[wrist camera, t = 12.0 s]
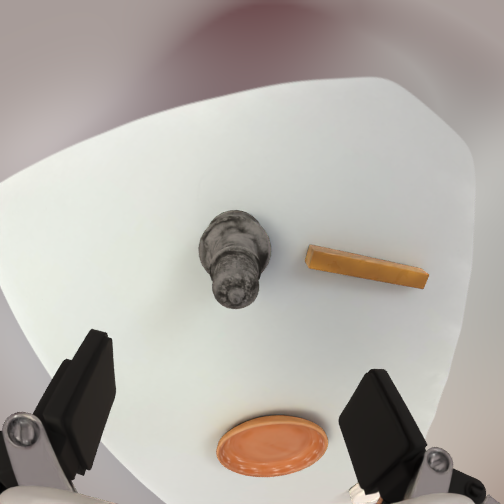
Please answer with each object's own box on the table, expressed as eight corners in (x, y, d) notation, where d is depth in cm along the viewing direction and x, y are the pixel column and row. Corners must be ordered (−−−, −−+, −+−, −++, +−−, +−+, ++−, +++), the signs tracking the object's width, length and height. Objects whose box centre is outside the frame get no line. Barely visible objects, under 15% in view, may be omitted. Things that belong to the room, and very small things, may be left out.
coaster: (385, 469, 47) (389, 481, 43) (393, 479, 50) (397, 490, 47) (342, 488, 48) (346, 500, 45) (355, 496, 51) (358, 507, 48)
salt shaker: (197, 212, 27) (172, 261, 16) (262, 202, 27) (283, 244, 16) (208, 272, 29) (196, 350, 18) (270, 263, 29) (292, 337, 18)
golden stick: (309, 243, 29) (314, 250, 27) (421, 268, 30) (429, 274, 29) (304, 261, 29) (308, 268, 28) (415, 282, 31) (423, 289, 29)
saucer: (200, 452, 39) (200, 467, 36) (247, 394, 35) (248, 411, 32) (288, 469, 42) (290, 482, 40) (345, 417, 38) (350, 432, 35)
